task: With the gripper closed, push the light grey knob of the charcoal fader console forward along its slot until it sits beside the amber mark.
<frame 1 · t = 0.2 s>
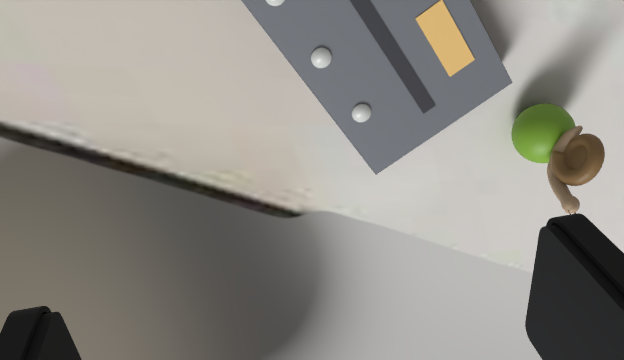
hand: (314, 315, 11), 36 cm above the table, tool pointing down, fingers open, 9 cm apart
snail figurine: (525, 124, 53), on the table
fader console: (362, 10, 44), on the table
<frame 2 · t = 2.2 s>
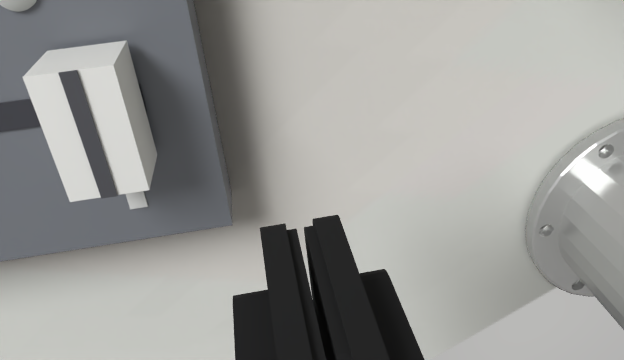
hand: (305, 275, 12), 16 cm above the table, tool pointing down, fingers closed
fader: (98, 121, 21), point 5 cm above the table, slide at 0.0 cm
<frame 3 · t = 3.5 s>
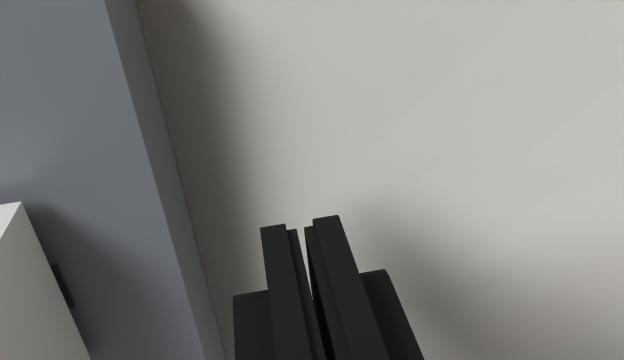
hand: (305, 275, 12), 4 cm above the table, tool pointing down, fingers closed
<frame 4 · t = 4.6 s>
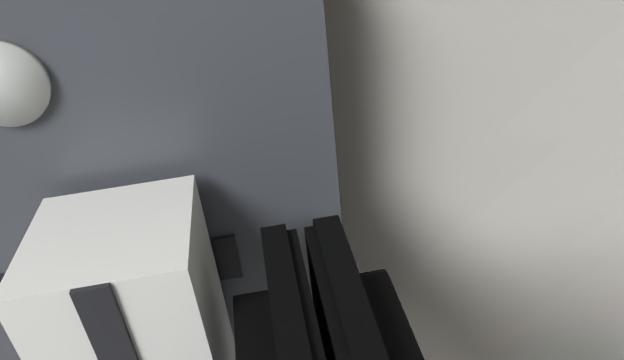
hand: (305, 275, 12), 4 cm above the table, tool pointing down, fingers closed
fader: (142, 331, 11), point 5 cm above the table, slide at 0.5 cm, touching gripper
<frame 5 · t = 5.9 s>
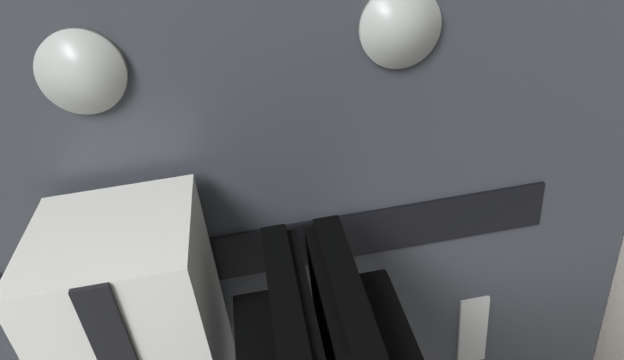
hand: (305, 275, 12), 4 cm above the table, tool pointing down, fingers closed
fader: (141, 331, 11), point 5 cm above the table, slide at 7.9 cm, touching gripper
fader console: (159, 200, 15), on the table
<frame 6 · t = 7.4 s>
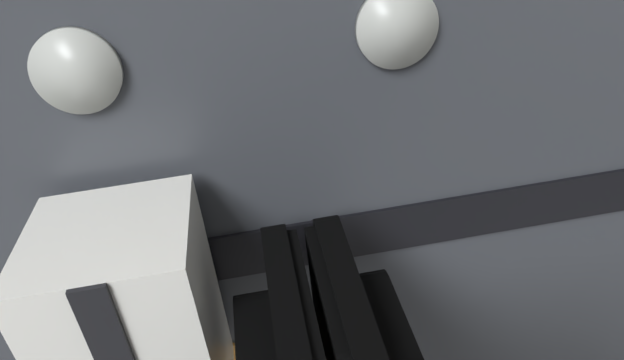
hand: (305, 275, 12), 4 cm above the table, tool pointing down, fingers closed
fader: (139, 331, 11), point 5 cm above the table, slide at 13.9 cm, touching gripper
fader console: (367, 166, 16), on the table
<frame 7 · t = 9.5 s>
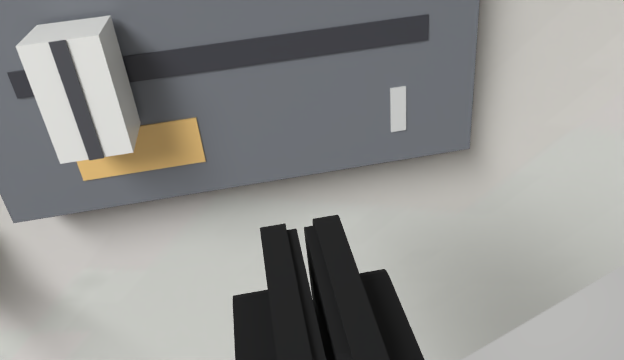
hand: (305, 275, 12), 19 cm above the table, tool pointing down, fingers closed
fader: (85, 89, 23), point 5 cm above the table, slide at 14.0 cm
fader console: (225, 36, 28), on the table
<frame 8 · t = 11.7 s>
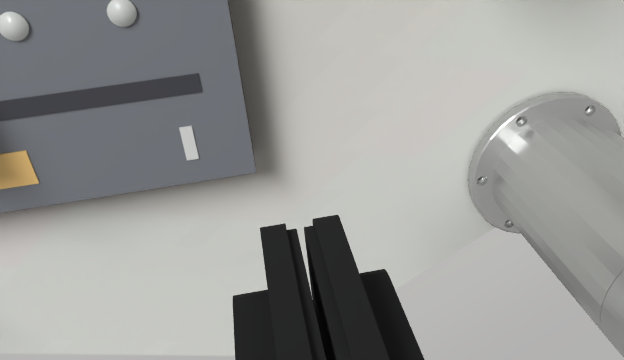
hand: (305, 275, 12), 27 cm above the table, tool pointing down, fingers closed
fader console: (55, 87, 36), on the table
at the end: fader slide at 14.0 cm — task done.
